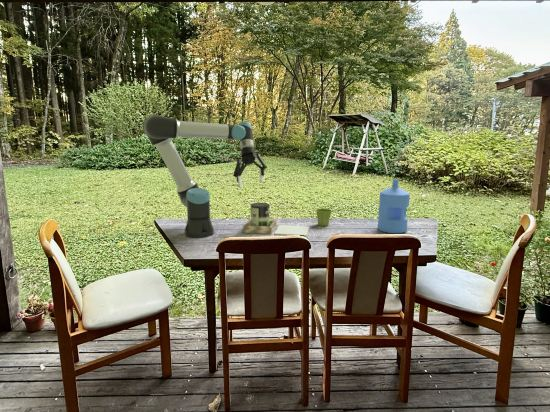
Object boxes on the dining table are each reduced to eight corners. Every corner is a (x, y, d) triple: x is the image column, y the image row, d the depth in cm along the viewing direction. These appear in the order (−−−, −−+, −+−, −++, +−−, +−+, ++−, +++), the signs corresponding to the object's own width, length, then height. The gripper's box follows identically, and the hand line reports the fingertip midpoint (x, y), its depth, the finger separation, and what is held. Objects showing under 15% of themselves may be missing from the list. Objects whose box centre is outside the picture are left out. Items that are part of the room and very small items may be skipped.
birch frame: (243, 232, 207) (243, 226, 206) (249, 224, 222) (249, 219, 221) (271, 233, 204) (271, 227, 204) (276, 226, 219) (276, 220, 218)
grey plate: (274, 234, 203) (274, 233, 203) (279, 226, 220) (279, 225, 219) (306, 236, 201) (306, 235, 200) (309, 227, 217) (309, 226, 217)
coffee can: (271, 227, 217) (271, 202, 214) (267, 232, 207) (267, 206, 204) (253, 226, 219) (253, 202, 216) (248, 231, 209) (248, 205, 206)
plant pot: (319, 221, 229) (319, 207, 227) (333, 224, 224) (334, 209, 223) (312, 225, 221) (312, 210, 219) (327, 227, 217) (328, 212, 215)
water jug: (371, 228, 216) (374, 178, 210) (392, 224, 223) (396, 177, 217) (391, 235, 203) (395, 182, 197) (413, 231, 210) (417, 180, 204)
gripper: (270, 144, 213) (274, 180, 208) (232, 157, 223) (235, 191, 218) (263, 140, 207) (268, 177, 201) (225, 153, 217) (228, 188, 211)
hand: (251, 184), depth 209 cm, fingers open, 13 cm apart
